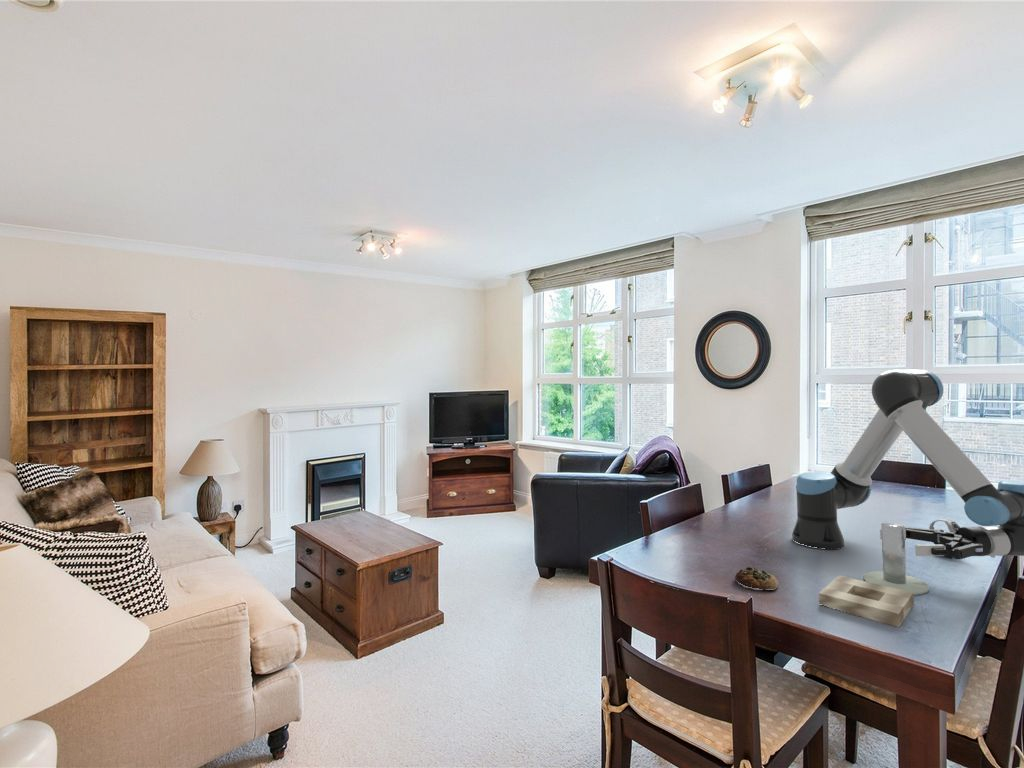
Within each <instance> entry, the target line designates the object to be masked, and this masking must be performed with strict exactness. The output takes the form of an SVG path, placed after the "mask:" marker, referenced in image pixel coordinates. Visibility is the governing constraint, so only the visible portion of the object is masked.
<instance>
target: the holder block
mask: <svg viewBox="0 0 1024 768" xmlns="http://www.w3.org/2000/svg"><path fill="white" fill-rule="evenodd" d="M818 603H819V604H822V605H825V606H828V607H831V608H835V609H839V610H842V611H845V612H844V613H846V612H849V613H851V614H850V615H853V614H854V616H857V617H860V616H861V618H865V619H868V620H872V621H875V622H880V623H883V624H886V625H890V626H893V627H897V628H899V627H900V626H901V625H902V623H903V622H904V621H905V619H906V618H907V616H908V615H909V613H910V611H911V610H912V608H913V607H914V606H915V595H914V592H909V591H905V590H900V589H896V588H892V587H887V586H883V585H878V584H874V583H870V582H865V581H864V580H860V579H857V578H856V579H855V578H851V577H848V576H842V575H837V577H836V578H834V579H833V580H832V581H831V582H830V583H829V584H827V585H826V586H825V587H824V588H823V589H822V590H820V591H819V593H818ZM831 608H830V609H831ZM835 609H834V610H835ZM842 611H841V612H842ZM849 613H848V614H849Z"/></svg>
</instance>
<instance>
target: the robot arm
mask: <svg viewBox="0 0 1024 768" xmlns="http://www.w3.org/2000/svg"><path fill="white" fill-rule="evenodd" d="M943 395H944V385H943V382H942V380H941V379H940V378H939V376H938V375H936V374H935V373H933V372H932V371H929V370H926V369H919V368H911V369H892V370H891V369H890V370H887V371H884V372H882V373H880V374H879V375H878V376H877V377H876V378H874V381H873V382H872V385H871V396H872V398H873V401H874V403H875V404H876V406H877V407H878V410H877V412H876V413H875V415H874V417H873V418H872V419H871V421H870V422H869V423H868V425H867V427H866V428H865V430H864V431H863V433H862V434H861V436H860V437H859V439H858V440H857V442H856V443H855V444H854V446H853V448H852V449H851V451H850V452H849V454H848V456H846V458H845V460H844V461H843V462H837V463H836V464H835V466H834V467H833V469H832V470H831V472H827V471H809V472H808V471H807V472H804V473H801V474H799V475H798V476H797V478H796V483H795V489H796V510H797V511H796V512H797V513H796V515H797V516H796V517H797V518H796V522H795V525H794V526H793V527H794V528H793V531H792V533H791V536H792V539H793V540H794V541H796V542H798V543H800V544H804V545H807V546H811V547H817V548H825V549H824V550H829V549H831V550H838V549H837V548H840V549H843V548H844V547H845V539H844V535H843V534H842V530H841V528H840V526H839V523H838V510H839V509H846V508H852V507H857V506H859V505H862V504H863V503H866V501H867V500H868V499H869V498H870V496H871V491H872V489H871V485H872V484H873V480H872V478H871V476H872V475H873V473H874V472H875V471H876V469H877V468H878V466H879V464H880V463H881V462H883V461H882V460H883V459H884V458H885V456H886V455H887V454H888V452H889V451H890V450H891V448H892V446H893V445H894V444H895V442H896V441H897V440H898V438H899V436H901V435H902V432H903V433H905V435H906V436H907V438H909V439H910V440H911V442H913V444H914V445H915V446H916V447H917V448H918V449H919V451H920V452H921V453H922V454H923V455H924V456H925V458H926V459H927V460H928V461H929V463H931V465H932V466H933V467H934V468H935V470H937V472H938V473H939V474H940V475H941V476H942V477H943V478H944V480H945V481H946V482H947V483H948V484H949V486H950V487H951V488H952V489H953V490H954V491H955V492H956V494H957V495H958V496H959V497H960V499H962V501H963V502H964V503H965V504H964V505H963V506H964V507H963V509H964V512H965V513H964V514H965V515H966V517H967V518H968V519H969V520H970V522H973V523H974V524H977V525H979V526H960V528H959V529H958V530H957V531H956V533H955V534H954V533H952V532H950V531H945V530H944V529H935V530H933V529H929V528H920V527H909V526H904V527H905V541H906V540H907V539H909V540H915V541H923V542H930V543H933V544H915V545H914V548H915V549H914V550H915V551H914V552H915V554H914V555H915V557H916V556H917V557H941V556H944V555H946V556H947V557H952V556H954V558H953V559H955V560H957V561H958V560H963V559H966V558H970V557H986V556H987V557H990V558H995V557H996V556H999V557H1003V556H1008V557H1009V556H1011V557H1013V556H1015V557H1016V556H1017V557H1024V481H1021V480H1000V481H999V482H998V483H997V488H996V487H995V486H994V485H993V483H992V482H991V481H990V480H989V479H988V478H987V477H986V476H985V474H983V472H982V471H981V470H980V469H979V468H978V467H977V466H976V465H975V464H974V463H973V461H972V460H971V459H970V458H969V456H967V455H966V454H965V453H964V452H963V450H961V448H960V447H959V446H958V445H957V444H956V443H955V442H954V441H953V439H952V438H951V437H950V436H949V435H948V434H947V433H946V432H945V431H944V430H943V428H942V427H941V426H940V425H939V424H938V422H936V420H934V418H933V417H932V416H931V415H930V414H929V413H928V412H927V411H926V410H927V408H928V407H932V406H934V405H935V404H937V403H938V402H939V401H940V400H941V399H942V397H943ZM937 539H938V540H939V542H938V540H937ZM793 540H792V541H793ZM879 540H881V541H882V528H881V529H879ZM794 541H793V542H794ZM935 544H936V545H935ZM944 546H946V548H944ZM842 547H843V548H842Z"/></svg>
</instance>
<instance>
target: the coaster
mask: <svg viewBox="0 0 1024 768" xmlns="http://www.w3.org/2000/svg"><path fill="white" fill-rule="evenodd" d="M864 580H865V582H870V583H874V584H878V585H883V586H887V587H892V588H896V589H900V590H905V591H909V592H914V596H915V595H916V596H917V595H918V596H919V595H925V594H927V593H928V592H929V591H930V590H929V589H930V587H929V584H928V583H926V582H925V581H924V580H922V579H919V578H917V577H914V576H911V575H907V574H906V584H894V583H890V582H887V581H885V580H884V579H883V570H881V571H879V570H878V571H877V570H875V571H869V572H866V573H863V581H864Z"/></svg>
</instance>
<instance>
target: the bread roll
mask: <svg viewBox="0 0 1024 768" xmlns="http://www.w3.org/2000/svg"><path fill="white" fill-rule="evenodd" d="M734 579H736V580H737V581H738V582H739V583H741V584H743V585H745V586H748V587H752V588H759V589H775V588H776V587H778V588H779V581H778V579H777V577H776V576H774V575H773V574H771V573H768V572H767V571H765V570H761V569H760V570H759V569H758V568H755V567H754V568H753V567H750V566H748V567H746V568H745V569H743V568H742V569H740V570H739V571H737V572H736V574H735V575H734ZM736 580H735V581H736Z"/></svg>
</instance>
